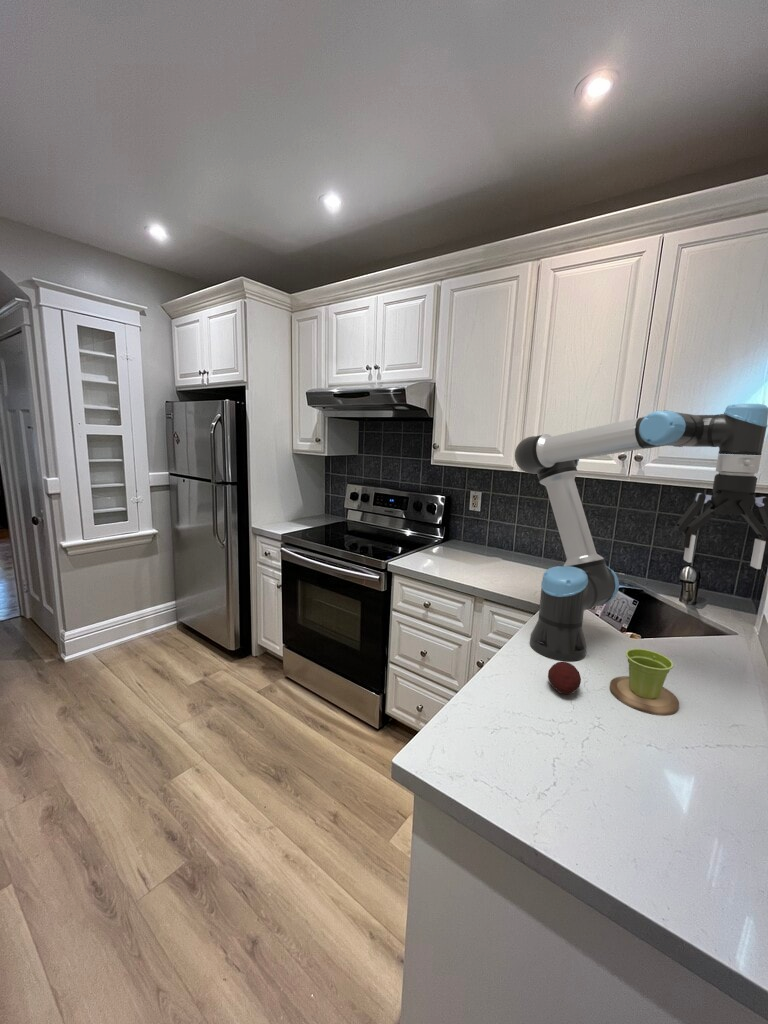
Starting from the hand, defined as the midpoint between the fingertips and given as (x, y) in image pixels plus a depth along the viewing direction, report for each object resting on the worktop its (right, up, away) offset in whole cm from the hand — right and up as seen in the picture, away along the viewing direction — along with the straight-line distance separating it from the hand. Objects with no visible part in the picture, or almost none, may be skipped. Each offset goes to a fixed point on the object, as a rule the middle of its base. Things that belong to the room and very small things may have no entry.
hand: (720, 564), depth 99 cm
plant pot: (-18, -31, +1) cm, 35 cm away
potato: (-36, -31, +3) cm, 48 cm away
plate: (-18, -31, +1) cm, 36 cm away
